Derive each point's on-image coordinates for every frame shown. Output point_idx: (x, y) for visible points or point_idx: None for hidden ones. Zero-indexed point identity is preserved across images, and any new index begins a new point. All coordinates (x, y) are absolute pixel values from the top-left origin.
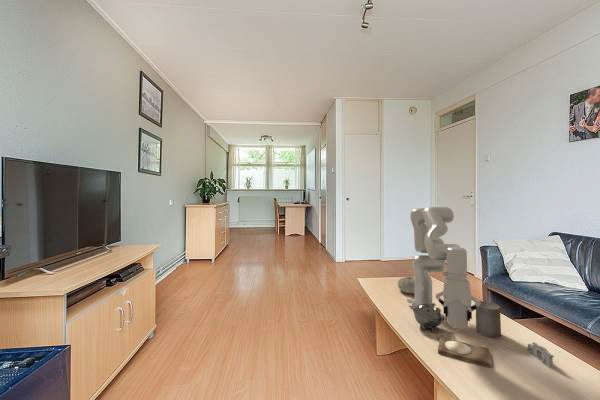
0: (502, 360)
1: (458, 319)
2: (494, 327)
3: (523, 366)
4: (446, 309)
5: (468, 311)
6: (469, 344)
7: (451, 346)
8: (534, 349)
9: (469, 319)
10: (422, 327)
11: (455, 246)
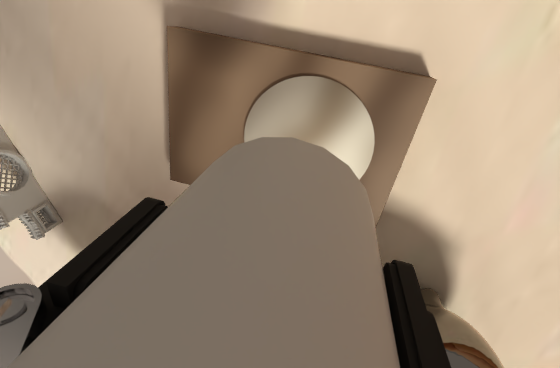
0: (133, 121)
1: (265, 176)
2: None
3: (67, 101)
4: (420, 356)
5: (66, 301)
6: None
7: (339, 140)
8: (20, 205)
9: (136, 208)
10: (440, 301)
11: None
